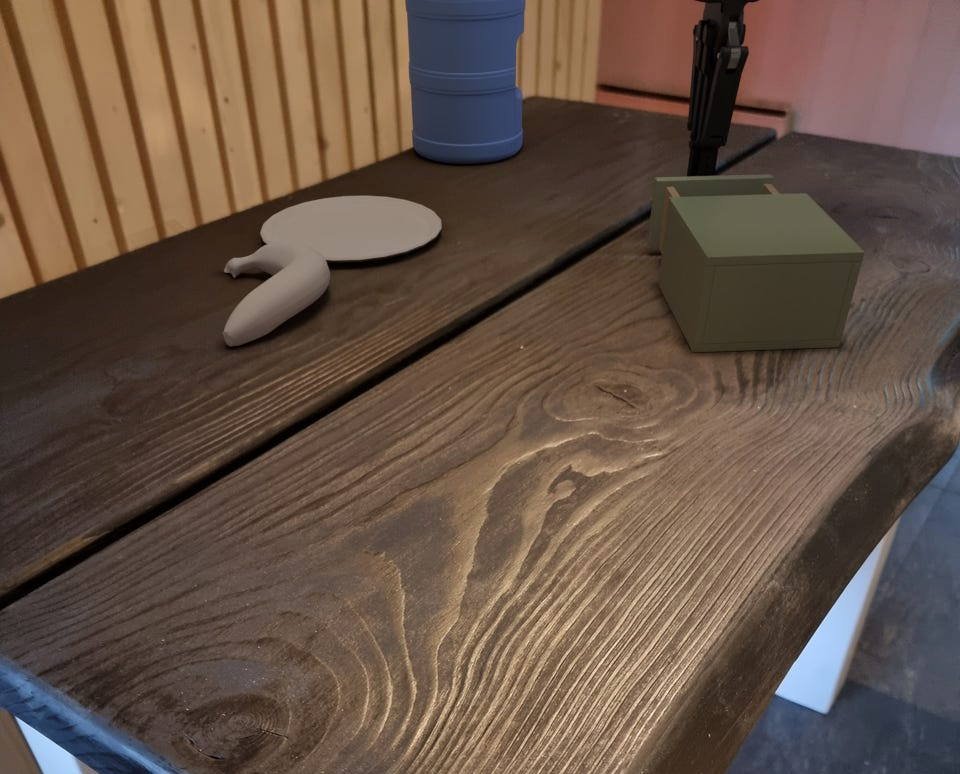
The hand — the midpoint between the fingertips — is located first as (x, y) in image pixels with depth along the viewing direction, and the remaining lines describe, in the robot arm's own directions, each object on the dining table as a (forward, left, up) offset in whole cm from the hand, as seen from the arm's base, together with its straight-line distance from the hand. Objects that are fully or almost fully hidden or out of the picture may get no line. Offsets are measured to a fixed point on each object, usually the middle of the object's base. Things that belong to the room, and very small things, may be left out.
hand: (695, 208), depth 104 cm
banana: (+48, +16, -3) cm, 51 cm away
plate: (+39, -3, -3) cm, 39 cm away
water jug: (+24, -36, -3) cm, 43 cm away
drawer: (0, +10, -2) cm, 10 cm away
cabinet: (0, +22, -3) cm, 22 cm away
